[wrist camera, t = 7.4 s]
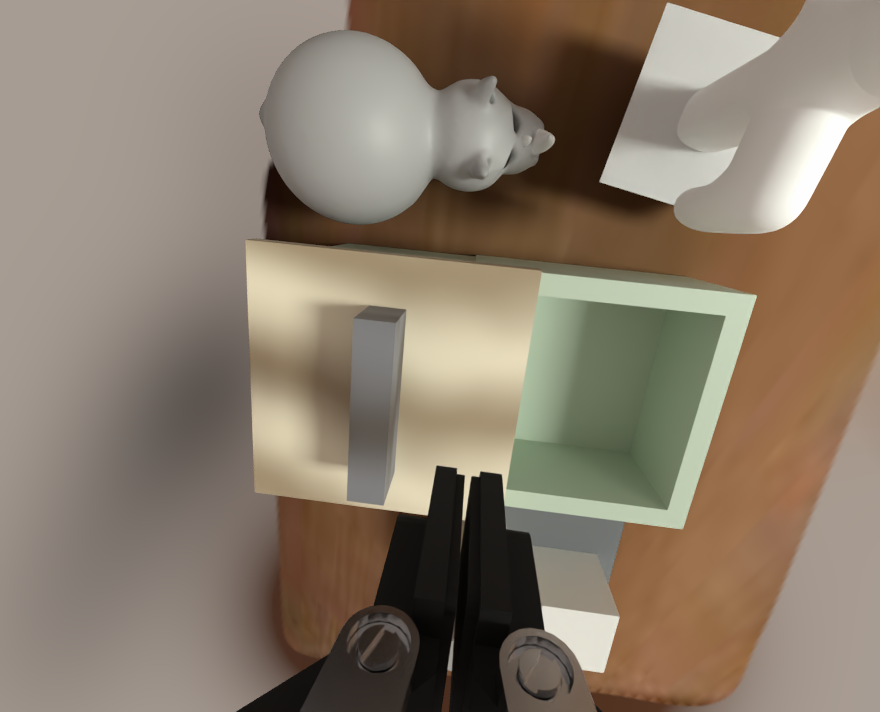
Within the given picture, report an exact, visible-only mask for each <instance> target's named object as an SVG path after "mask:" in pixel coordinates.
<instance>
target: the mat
mask: <svg viewBox="0 0 880 712" xmlns="http://www.w3.org/2000/svg"><path fill="white" fill-rule="evenodd" d="M505 518H506V525H507V529H508V530H515V531H522V532H529V534H530V536H531V541H532V546H539V547H547V548H554V549H561V550H569V551H576V552H584V553H591V554H597V555H598V558H599V561H600V563H601V566H602V569H603V572H604V575H605V577H606V580H607V583H609V579H610V575H611V572H612V568H613V564H614V560H615V557H616V553H617V549H618V545H619V542H620V538H621V534H622V531H623V527H624V523H625V522H623V521H615V520H608V519H600V518H593V517H585V516H577V515H570V514H562V513H555V512H547V511H539V510H532V509H524V508H517V507H509V506H505Z"/></svg>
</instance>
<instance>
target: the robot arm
mask: <svg viewBox="0 0 880 712" xmlns="http://www.w3.org/2000/svg"><path fill="white" fill-rule="evenodd" d="M464 483H465V475H461V474H457V468H453V467H446V466H438V465H437V466H436V471H435V476H434V482H433V488H432V494H431V499H430V505H429V511H428V517H427V518H423V517H416V516H409V515H402V514H399V515H398V518H397V521H396V525H395V528H394V532H393V536H392V539H391V543H390V547H389V551H388V554H387V558H386V562H385V565H384V569H383V573H382V577H381V580H380V584H379V588H378V591H377V595H376V599H375V602H374V606H370V607H367V608H365V609H362V610H360V611H358V612H357V613H355V614H354V615H353V616H352V617H350V618H349V619H348V621H347V622H346V623H345V625H344V626H343V628H342V629H341V631H340V633H339V635H338V637H337V639H336V641H335V643H334V645H333V647H332V649H331V651H330V653H329V654H328V655H327V656H325V657H324V658H322V659H320V660H319V661H317V662H316V663H314V664H312V665H311V666H309V667H307V668H306V669H304V670H303V671H301V672H299V673H298V674H296V675H294V676H293V677H291V678H290V679H288V680H287V681H285V682H283V683H282V684H280V685H278V686H277V687H275V688H274V689H272V690H271V691H269V692H267V693H266V694H264V695H262V696H261V697H259V698H257V699H256V700H254V701H253V702H251V703H249V704H248V705H246V706H244V707H243V708H241V709H240V710H238V711H237V712H441V709H442V702H443V696H444V689H445V682H446V676H447V669H448V662H449V655H450V648H451V642H452V635H453V628H454V621H455V628H454V643H453V659H452V674H451V692H450V706H449V712H602V711H601V710H600V709H599V708H598V707H597V706H596V705H595V704H594V702H593V699H592V697H591V694H590V691H589V688H588V685H587V683H586V680H585V677H584V674H583V671H582V669H581V666H580V664H579V662H578V660H577V658H576V656H575V654H574V653H573V652H572V651H571V650H570V648H569V647H568V646H567V645H566V644H565V643H564V642H563V641H561V640H560V639H559V638H557V637H556V636H555V635H553V634H551V633H548V632H546V631H545V629H544V622H543V615H542V608H541V602H540V595H539V588H538V581H537V575H536V568H535V561H534V555H533V548H532V541H531V536H530V534H529V532H522V531H515V530H508V529H506V518H505V505H504V492H503V479H502V474H497V473H490V472H482V471H480V475H479V477H476V476H471V482H470V489H469V496H468V503H467V510H466V517H465V524H464V531H463V538H462V545H461V532H462V516H463V500H464ZM460 549H461V552H460Z"/></svg>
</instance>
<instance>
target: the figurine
mask: <svg viewBox="0 0 880 712" xmlns="http://www.w3.org/2000/svg"><path fill="white" fill-rule="evenodd" d="M879 107H880V0H806V1H805V3H804V5H803V8H802V10H801V11H800V13H799V15H798V16H797V18H796V19H795V21H794V22H793V24H792V25H791V26H790V28H789V29H788V30H787V31H786V32H785V34H784V35H783V36H782V37H781V38H779V37H776V36H773V35H770V34H766V33H763V32H760V31H757V30H754V29H750V28H747V27H744V26H741V25H738V24H735V23H731V22H728V21H725V20H722V19H719V18H716V17H712V16H709V15H706V14H703V13H700V12H696V11H693V10H690V9H687V8H684V7H681V6H677V5H674V4H671V3H668V2H667V5H666V7H665V10H664V13H663V15H662V18H661V21H660V23H659V26H658V29H657V31H656V34H655V36H654V39H653V42H652V44H651V47H650V50H649V52H648V55H647V57H646V60H645V63H644V65H643V68H642V71H641V73H640V76H639V79H638V81H637V84H636V86H635V89H634V92H633V94H632V97H631V100H630V102H629V105H628V108H627V110H626V113H625V115H624V118H623V121H622V123H621V126H620V129H619V131H618V134H617V136H616V139H615V142H614V144H613V147H612V150H611V152H610V155H609V158H608V160H607V163H606V165H605V168H604V171H603V173H602V176H601V179H600V181H599V182H601V183H604V184H607V185H610V186H613V187H617V188H620V189H623V190H626V191H630V192H633V193H636V194H639V195H642V196H646V197H649V198H652V199H655V200H659V201H662V202H665V203H668V204H672V205H674V214H675V216H676V218H677V219H678V221H679V222H680V223H682V224H683V225H685V226H687V227H689V228H691V229H694V230H698V231H703V232H716V233H736V234H758V233H766V232H771V231H775V230H778V229H780V228H783V227H785V226H786V225H788V224H790V223H791V222H792V221H793V220H795V219H796V218H797V217H798V216H799V214H800V213H801V212H802V211H803V209H804V208H805V206H806V205H807V203H808V201H809V199H810V198H811V196H812V194H813V192H814V190H815V188H816V186H817V184H818V183H819V181H820V179H821V177H822V175H823V173H824V171H825V169H826V167H827V166H828V164H829V162H830V160H831V158H832V156H833V154H834V152H835V150H836V149H837V147H838V145H839V143H840V141H841V139H842V137H843V135H844V133H845V132H846V130H847V128H848V127H849V126H850V125H851V124H853V123H854V122H855V121H857V120H858V119H859V118H861V117H862V116H864V115H866V114H867V113H869V112H871V111H873V110H875V109H877V108H879Z"/></svg>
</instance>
